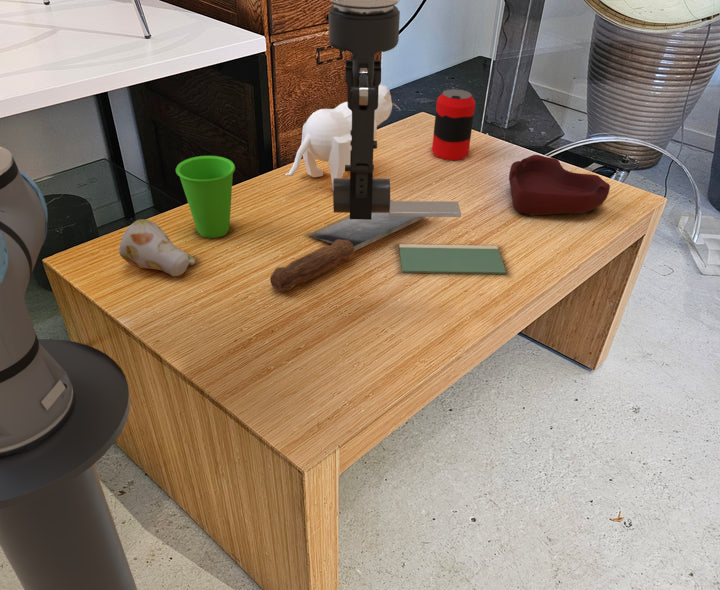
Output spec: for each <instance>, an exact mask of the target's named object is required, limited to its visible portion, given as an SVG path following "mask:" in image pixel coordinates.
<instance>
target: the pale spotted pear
mask: <svg viewBox="0 0 720 590" xmlns="http://www.w3.org/2000/svg"><path fill="white" fill-rule="evenodd" d="M118 253H119V256H120V257H121V258H122V259H123V260H124V261H125V262H127V263H128V264H130V265H132V266H134V267H137V268H142V269H150V270H157V271H161V272H164V273H166V274H168V275H170V276H172V277H178V276H181V275H184V273H185V272H186V271H187V268H188V267H189V266H194V265H195V264H196V259H195V258H194V257H193V255H191V254H188V253H187V252H186V251H184V250H182V249H180V248H179V247H177V246H176V245H175V243H173V241H171V239H170V238H169V236H168V235H167V234H166V233H165V231H164V230H163V229H162V228H161V227H160V226H159V225H158V224H157V223H155V222H153V221H152V220H149V219H142V218H141V219H137V220H135V221H134V222H132V223H131V224H130V225H129V226H128V227H127V228H126V229H125V230H124V232H123V234H122V237H121V240H120V244H119V252H118Z"/></svg>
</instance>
